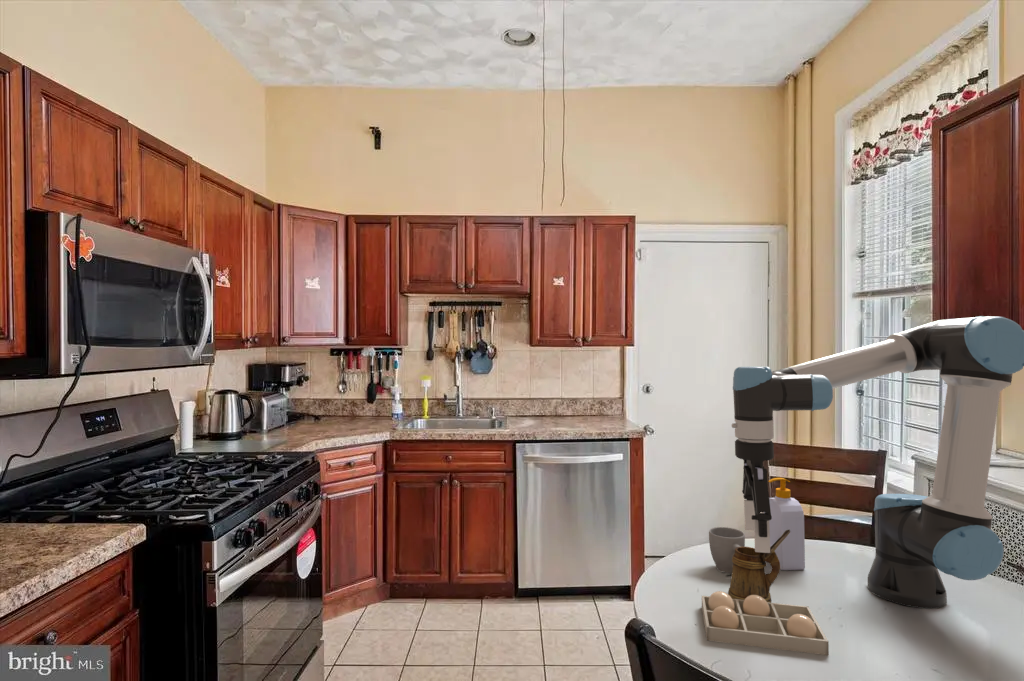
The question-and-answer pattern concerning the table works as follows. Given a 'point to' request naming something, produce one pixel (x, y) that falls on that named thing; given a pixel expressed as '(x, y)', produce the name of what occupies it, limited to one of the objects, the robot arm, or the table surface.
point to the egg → (756, 606)
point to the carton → (766, 629)
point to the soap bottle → (787, 528)
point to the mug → (725, 546)
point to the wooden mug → (754, 571)
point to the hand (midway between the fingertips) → (756, 540)
